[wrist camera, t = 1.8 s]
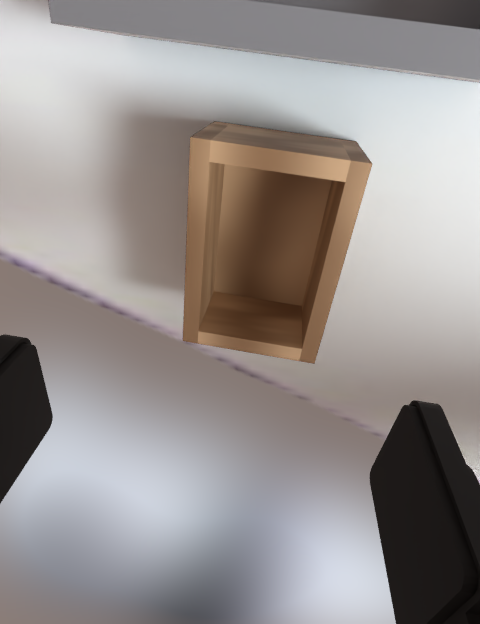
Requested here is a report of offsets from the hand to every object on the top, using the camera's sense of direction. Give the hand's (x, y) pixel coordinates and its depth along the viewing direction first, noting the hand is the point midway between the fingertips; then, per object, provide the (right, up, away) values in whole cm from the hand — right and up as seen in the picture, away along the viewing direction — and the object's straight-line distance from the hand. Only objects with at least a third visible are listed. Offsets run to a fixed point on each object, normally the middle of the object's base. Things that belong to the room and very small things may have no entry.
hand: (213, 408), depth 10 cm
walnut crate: (+2, +7, +12) cm, 14 cm away
